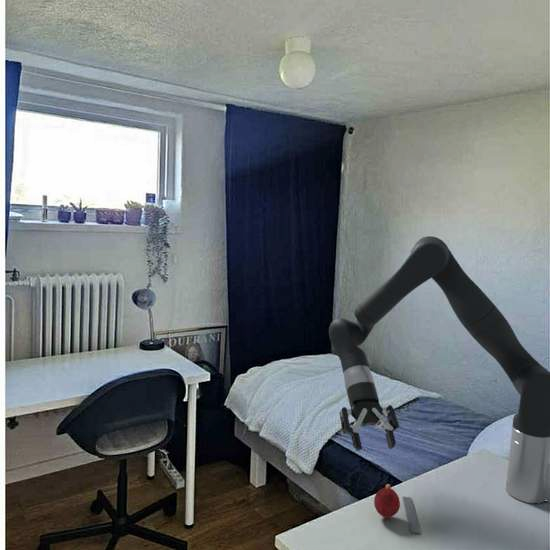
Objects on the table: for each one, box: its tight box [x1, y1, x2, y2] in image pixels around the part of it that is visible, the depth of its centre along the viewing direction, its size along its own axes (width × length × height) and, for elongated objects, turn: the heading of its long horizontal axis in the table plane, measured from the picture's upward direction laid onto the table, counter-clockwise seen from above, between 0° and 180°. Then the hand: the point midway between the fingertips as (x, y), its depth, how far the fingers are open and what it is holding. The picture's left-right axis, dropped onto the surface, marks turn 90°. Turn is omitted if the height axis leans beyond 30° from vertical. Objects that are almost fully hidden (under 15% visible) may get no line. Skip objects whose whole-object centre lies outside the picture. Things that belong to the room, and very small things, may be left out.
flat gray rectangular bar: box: [402, 496, 422, 535], centre depth 114 cm, size 2×14×1 cm, turn 173°
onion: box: [373, 483, 401, 519], centre depth 112 cm, size 6×6×8 cm
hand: (375, 448), depth 118 cm, fingers open, 8 cm apart
